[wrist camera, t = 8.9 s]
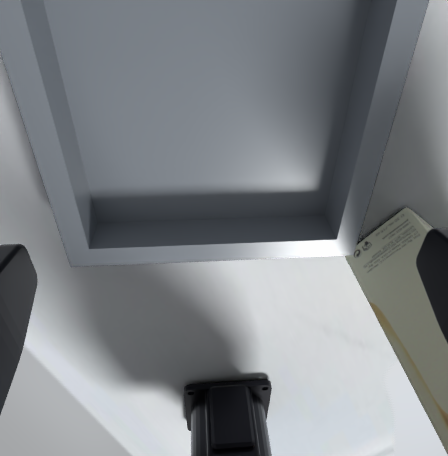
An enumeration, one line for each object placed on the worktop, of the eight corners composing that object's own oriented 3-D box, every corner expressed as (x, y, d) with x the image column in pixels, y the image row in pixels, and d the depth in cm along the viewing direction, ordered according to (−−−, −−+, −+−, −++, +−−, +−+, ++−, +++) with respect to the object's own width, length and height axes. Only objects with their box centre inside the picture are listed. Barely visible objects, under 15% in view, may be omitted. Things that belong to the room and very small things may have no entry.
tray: (337, 223, 20) (353, 255, 18) (83, 232, 19) (70, 266, 17) (418, -111, 12) (465, -122, 10) (-15, -122, 11) (-61, -136, 9)
